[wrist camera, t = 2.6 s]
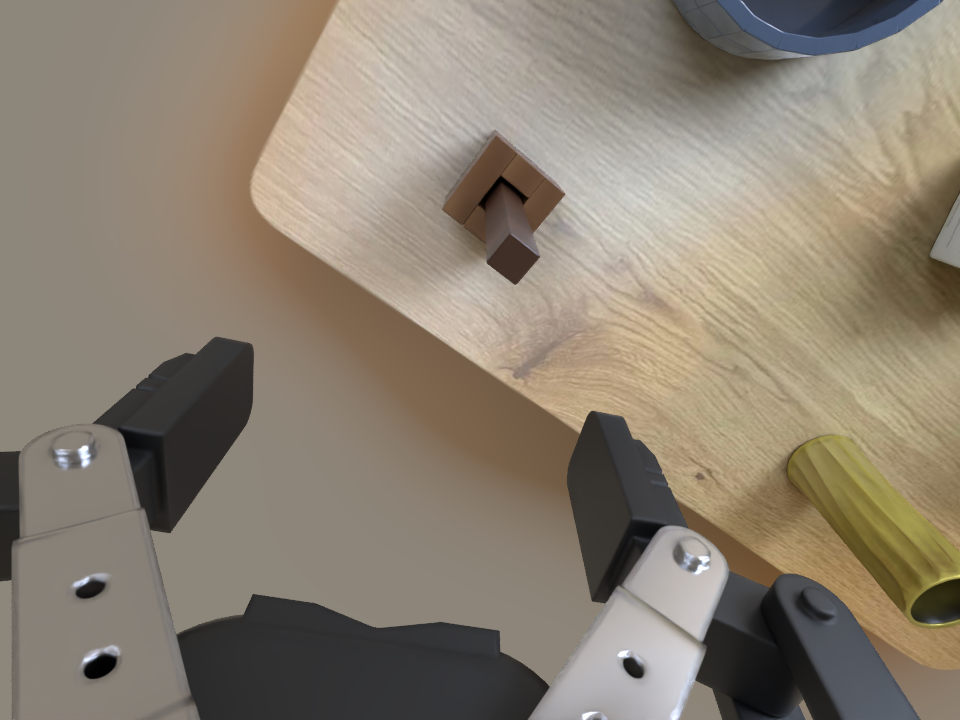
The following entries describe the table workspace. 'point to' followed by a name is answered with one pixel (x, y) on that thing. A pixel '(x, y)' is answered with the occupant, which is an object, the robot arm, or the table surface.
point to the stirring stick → (508, 232)
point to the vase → (881, 530)
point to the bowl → (798, 24)
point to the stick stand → (483, 173)
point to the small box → (949, 238)
